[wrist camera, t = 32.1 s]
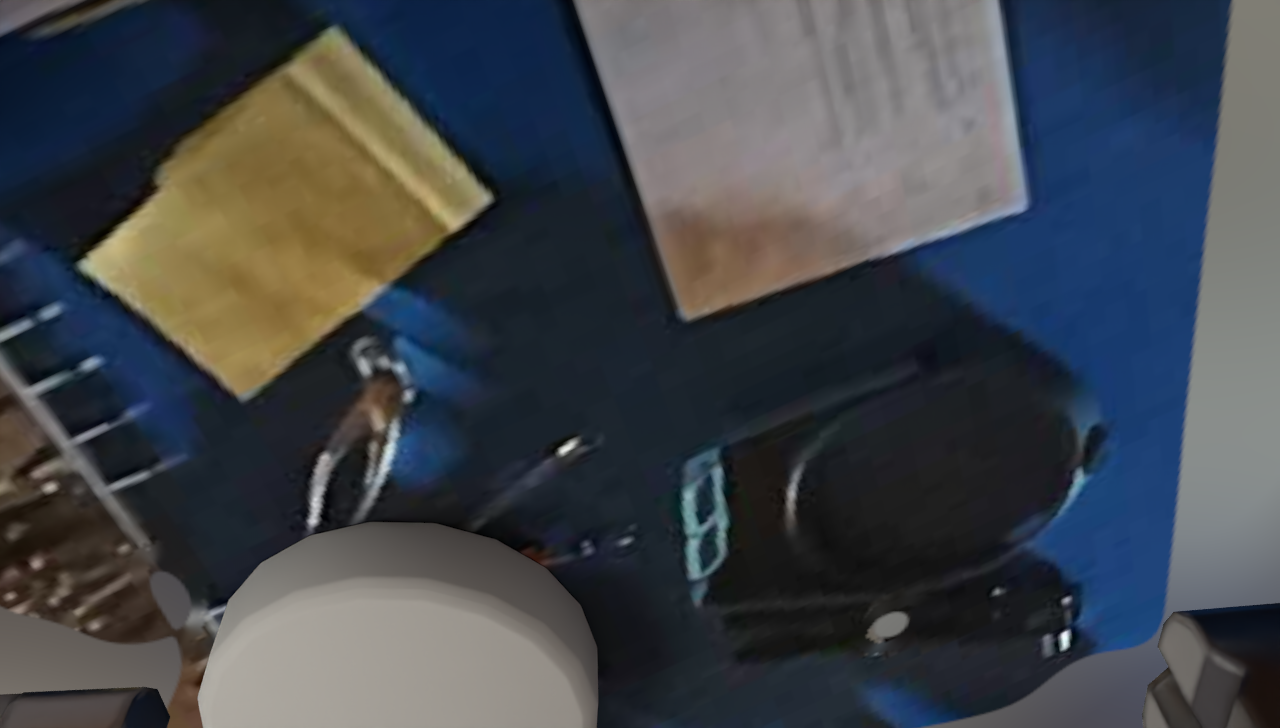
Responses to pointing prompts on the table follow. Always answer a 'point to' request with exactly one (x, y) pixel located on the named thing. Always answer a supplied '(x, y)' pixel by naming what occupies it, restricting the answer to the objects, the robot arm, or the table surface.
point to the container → (401, 637)
